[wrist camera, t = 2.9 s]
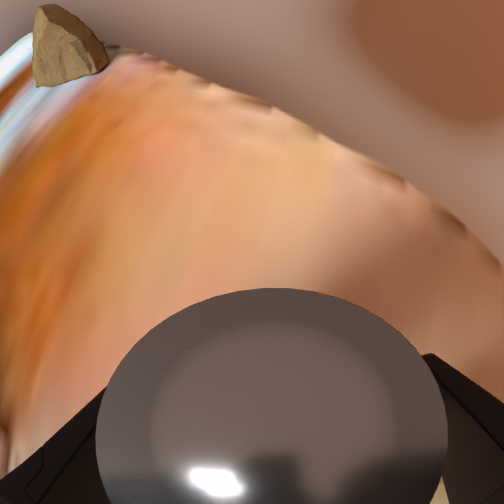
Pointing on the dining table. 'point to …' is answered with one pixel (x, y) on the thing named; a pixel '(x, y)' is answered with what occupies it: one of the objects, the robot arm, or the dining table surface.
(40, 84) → the rock
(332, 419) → the hinge pin
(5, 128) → the dining table surface
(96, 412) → the robot arm
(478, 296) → the dining table surface
